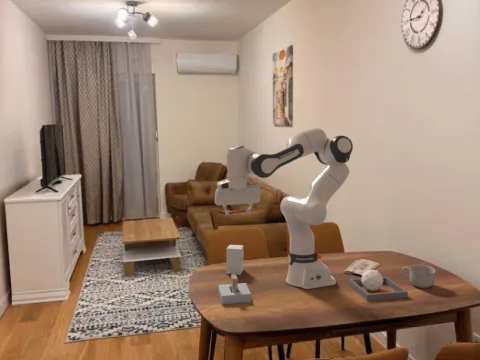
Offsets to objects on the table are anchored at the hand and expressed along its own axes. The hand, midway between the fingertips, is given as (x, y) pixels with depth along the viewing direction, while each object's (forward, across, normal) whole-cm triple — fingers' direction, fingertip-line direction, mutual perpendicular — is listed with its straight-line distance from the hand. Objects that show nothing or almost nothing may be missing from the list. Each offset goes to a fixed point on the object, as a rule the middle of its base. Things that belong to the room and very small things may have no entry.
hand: (237, 213), depth 194 cm
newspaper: (+34, -62, -8) cm, 72 cm away
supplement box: (+33, 0, -15) cm, 36 cm away
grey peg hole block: (+32, +5, +15) cm, 36 cm away
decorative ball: (+34, -54, +17) cm, 66 cm away
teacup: (+34, -78, +17) cm, 87 cm away
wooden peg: (+31, +5, +15) cm, 35 cm away
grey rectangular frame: (+33, -57, +20) cm, 69 cm away
